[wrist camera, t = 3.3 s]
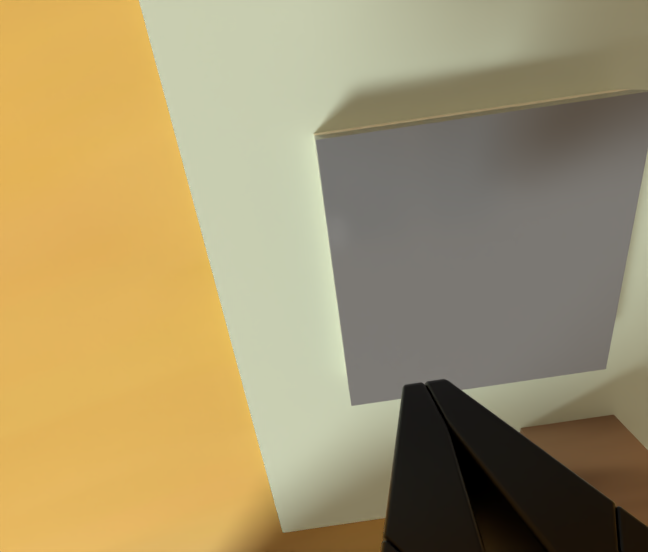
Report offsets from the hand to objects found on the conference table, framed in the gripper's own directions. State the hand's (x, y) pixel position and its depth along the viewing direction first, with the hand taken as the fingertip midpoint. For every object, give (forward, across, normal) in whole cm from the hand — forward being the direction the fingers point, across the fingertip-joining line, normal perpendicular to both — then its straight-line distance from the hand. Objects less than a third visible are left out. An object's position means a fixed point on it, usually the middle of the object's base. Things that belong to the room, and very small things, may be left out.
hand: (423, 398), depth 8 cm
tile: (+6, +1, 0) cm, 6 cm away
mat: (+7, -3, +2) cm, 8 cm away
